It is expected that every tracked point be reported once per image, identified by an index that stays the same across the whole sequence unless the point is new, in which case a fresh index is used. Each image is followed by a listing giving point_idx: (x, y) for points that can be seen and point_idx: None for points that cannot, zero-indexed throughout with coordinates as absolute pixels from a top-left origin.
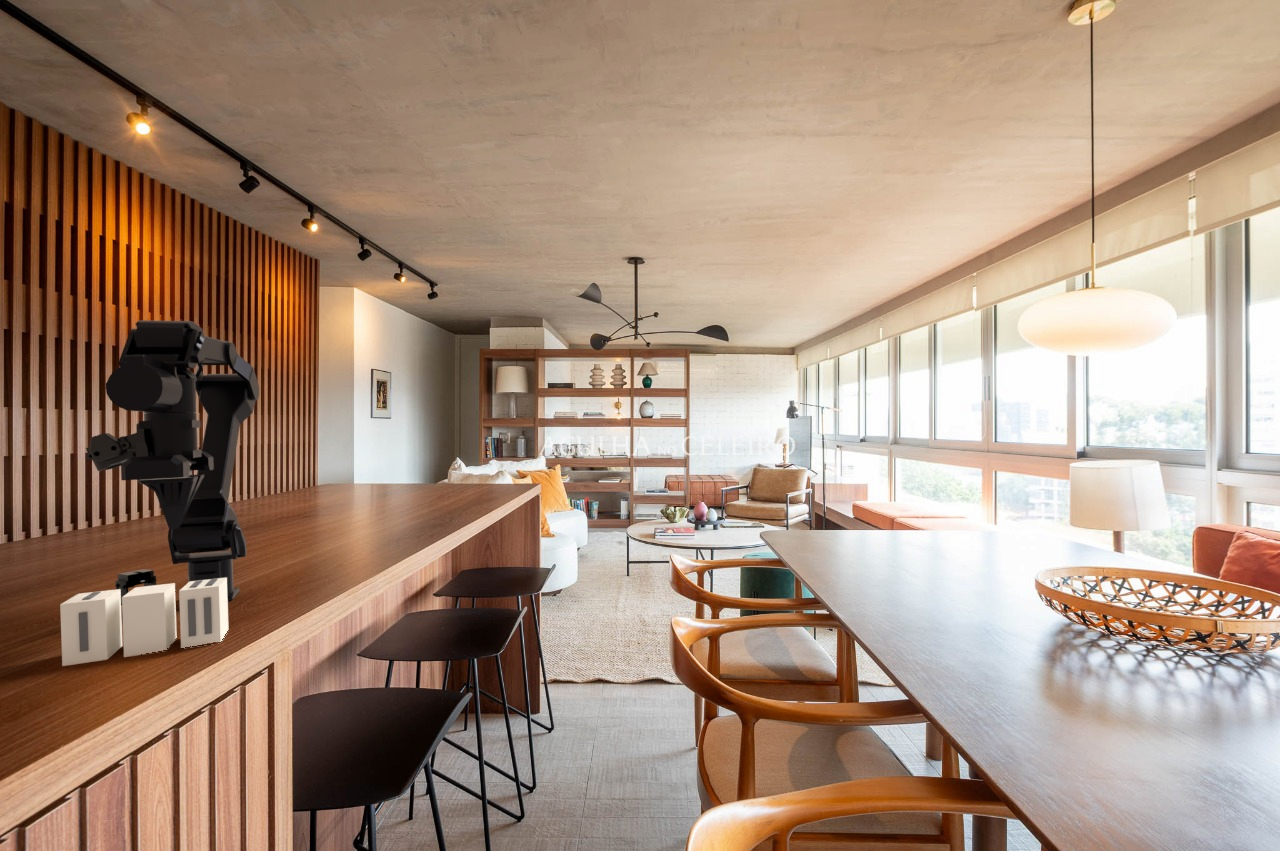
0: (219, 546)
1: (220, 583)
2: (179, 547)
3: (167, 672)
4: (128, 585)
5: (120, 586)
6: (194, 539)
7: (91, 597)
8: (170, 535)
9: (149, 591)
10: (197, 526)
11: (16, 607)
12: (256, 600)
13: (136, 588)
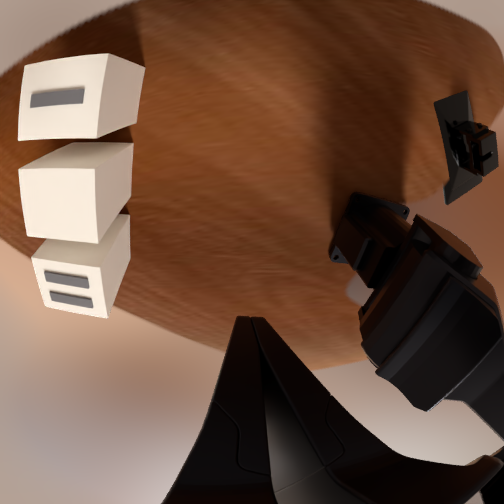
0: (364, 315)
1: (62, 309)
2: (407, 250)
3: (5, 210)
4: (467, 136)
5: (474, 128)
6: (394, 291)
7: (37, 106)
8: (446, 249)
9: (42, 208)
10: (411, 320)
11: (492, 36)
12: (301, 286)
13: (81, 174)
